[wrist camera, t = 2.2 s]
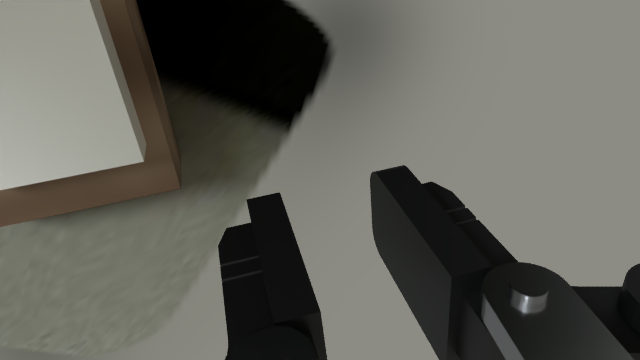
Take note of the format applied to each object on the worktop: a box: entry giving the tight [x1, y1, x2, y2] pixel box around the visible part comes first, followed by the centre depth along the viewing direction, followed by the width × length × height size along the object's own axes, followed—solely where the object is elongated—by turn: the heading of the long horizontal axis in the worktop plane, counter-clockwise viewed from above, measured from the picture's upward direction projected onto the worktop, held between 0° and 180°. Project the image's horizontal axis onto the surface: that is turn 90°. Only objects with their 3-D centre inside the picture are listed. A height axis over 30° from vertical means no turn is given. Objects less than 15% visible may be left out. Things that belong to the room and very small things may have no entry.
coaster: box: [0, 0, 146, 190], centre depth 21 cm, size 8×8×2 cm
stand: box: [0, 0, 181, 227], centre depth 23 cm, size 14×12×4 cm
